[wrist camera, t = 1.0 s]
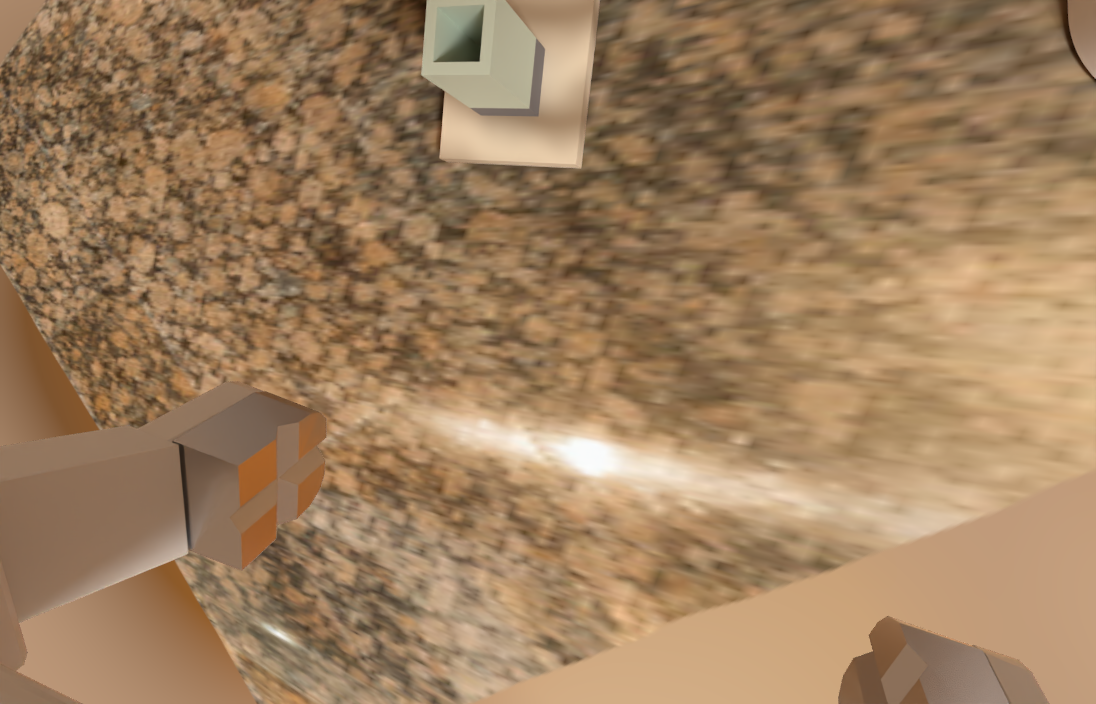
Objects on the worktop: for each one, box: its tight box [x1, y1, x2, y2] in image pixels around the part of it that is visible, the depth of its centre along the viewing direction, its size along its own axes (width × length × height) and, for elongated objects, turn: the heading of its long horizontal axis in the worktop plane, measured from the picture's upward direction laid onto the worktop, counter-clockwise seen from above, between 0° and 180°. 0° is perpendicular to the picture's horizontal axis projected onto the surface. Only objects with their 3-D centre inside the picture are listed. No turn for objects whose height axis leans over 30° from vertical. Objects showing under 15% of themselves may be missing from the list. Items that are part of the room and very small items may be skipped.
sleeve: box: [421, 0, 545, 116], centre depth 41 cm, size 5×5×9 cm
